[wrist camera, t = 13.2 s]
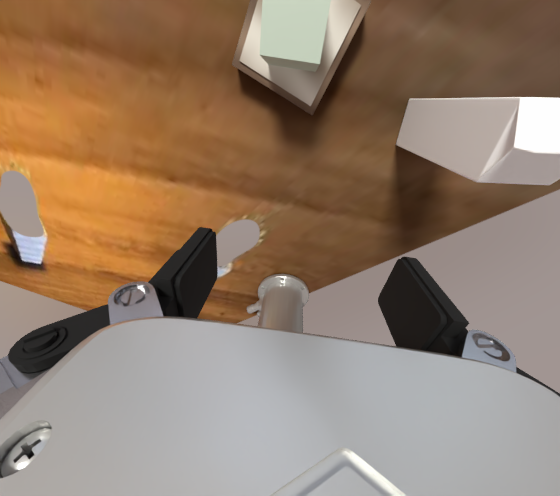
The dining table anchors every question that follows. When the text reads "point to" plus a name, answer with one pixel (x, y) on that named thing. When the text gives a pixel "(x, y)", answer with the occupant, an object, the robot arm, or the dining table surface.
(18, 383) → the robot arm
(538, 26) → the dining table surface
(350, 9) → the plinth
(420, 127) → the milk
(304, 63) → the block
